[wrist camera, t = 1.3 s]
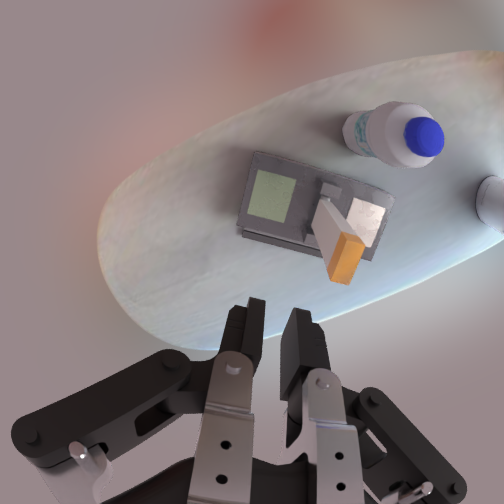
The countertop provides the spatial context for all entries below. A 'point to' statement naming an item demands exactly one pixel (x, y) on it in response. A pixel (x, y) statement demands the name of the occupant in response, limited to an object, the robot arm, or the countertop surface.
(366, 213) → the switch box
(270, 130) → the countertop surface
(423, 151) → the bottle
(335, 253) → the lever
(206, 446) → the robot arm
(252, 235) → the dark grey bar
